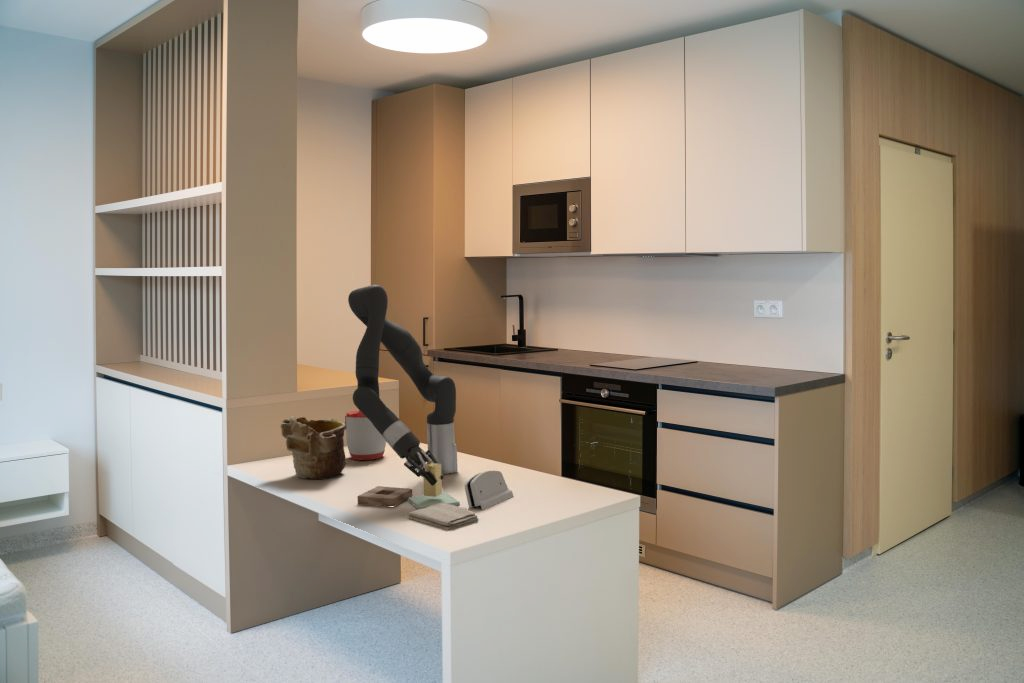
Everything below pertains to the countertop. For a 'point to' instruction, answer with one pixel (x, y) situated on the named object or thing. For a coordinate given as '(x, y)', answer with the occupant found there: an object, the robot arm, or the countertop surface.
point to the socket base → (385, 496)
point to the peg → (436, 472)
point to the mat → (433, 500)
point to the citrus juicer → (363, 437)
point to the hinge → (487, 489)
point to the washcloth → (444, 515)
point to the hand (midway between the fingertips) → (438, 481)
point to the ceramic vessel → (315, 446)
